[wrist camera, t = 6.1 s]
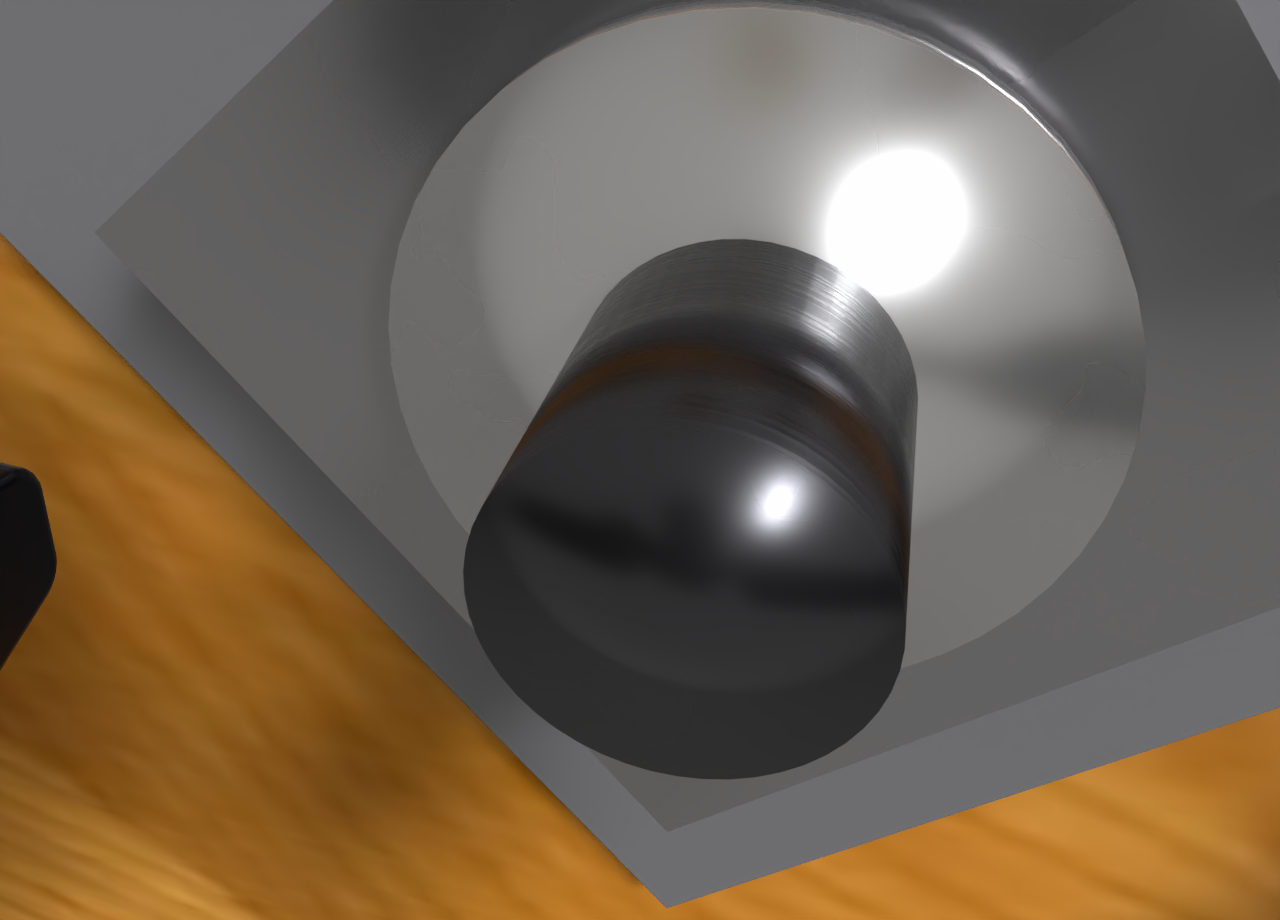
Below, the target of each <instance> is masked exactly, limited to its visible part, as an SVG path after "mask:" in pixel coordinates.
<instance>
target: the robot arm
mask: <svg viewBox="0 0 1280 920" xmlns="http://www.w3.org/2000/svg"><path fill="white" fill-rule="evenodd" d="M56 564H57V558H56V552H55V547H54V542H53V538H52V533H51V529H50V524H49V519H48V515H47V510H46V506H45V501H44V496H43V492H42V488H41V485H40V482H39V481H38V479H37V478H36V477H35V475H34V474H33V473H32V472H30V471H28V470H27V469H24V468H21V467H17V466H13V465H8V464H4V463H0V670H1V669H2V667H3V666H4V664H5V662H6V661H7V659H8V657H9V656H10V654H11V653H12V651H13V649H14V648H15V646H16V645H17V643H18V641H19V640H20V638H21V637H22V635H23V633H24V632H25V630H26V629H27V627H28V625H29V624H30V622H31V620H32V619H33V617H34V616H35V614H36V612H37V611H38V609H39V608H40V606H41V604H42V603H43V601H44V600H45V598H46V596H47V595H48V593H49V591H50V589H51V586H52V584H53V581H54V578H55V573H56Z"/></svg>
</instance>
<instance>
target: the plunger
mask: <svg viewBox="0 0 1280 920" xmlns="http://www.w3.org/2000/svg"><path fill="white" fill-rule="evenodd" d="M388 329H389V341H390V353H391V365H392V372H393V377H394V381H395V386H396V390H397V395H398V399H399V404H400V408H401V412H402V414H403V417H404V420H405V423H406V425H407V428H408V431H409V434H410V437H411V439H412V442H413V445H414V448H415V450H416V452H417V454H418V456H419V458H420V460H421V462H422V464H423V466H424V468H425V470H426V472H427V474H428V476H429V478H430V480H431V482H432V484H433V485H434V487H435V488H436V490H437V491H438V493H439V494H440V496H441V497H442V499H443V500H444V502H445V503H446V505H447V507H448V508H449V510H450V511H451V513H452V514H453V516H454V517H455V519H456V520H457V521H458V522H459V523H460V525H461V526H462V527H463V528H464V529H465V531H466V532H467V533H468V534H469V538H468V542H467V545H466V549H465V558H464V567H463V579H464V594H465V599H466V604H467V609H468V613H469V617H470V619H471V622H472V625H473V628H474V631H475V633H476V636H477V638H478V640H479V642H480V644H481V646H482V648H483V650H484V652H485V654H486V655H487V657H488V659H489V660H490V662H491V663H492V665H493V666H494V668H495V669H496V670H497V672H498V673H499V675H500V676H501V678H502V679H503V680H504V681H505V682H506V683H507V685H508V686H509V687H510V688H511V689H512V690H513V691H514V693H515V694H516V695H517V696H518V697H519V698H520V699H521V700H522V701H523V702H524V703H526V704H527V705H528V706H529V707H530V708H531V709H532V710H533V711H534V712H535V713H536V714H538V715H539V716H540V717H542V718H543V719H544V720H546V721H547V722H548V723H549V724H551V725H552V726H553V727H555V728H556V729H558V730H559V731H561V732H562V733H564V734H566V735H567V736H569V737H570V738H572V739H574V740H575V741H577V742H579V743H581V744H583V745H585V746H587V747H589V748H591V749H593V750H595V751H597V752H599V753H601V754H603V755H605V756H608V757H610V758H613V759H615V760H618V761H621V762H623V763H626V764H629V765H632V766H636V767H639V768H642V769H646V770H649V771H653V772H658V773H663V774H668V775H673V776H678V777H688V778H697V779H726V780H730V779H742V778H754V777H760V776H765V775H770V774H776V773H781V772H784V771H787V770H790V769H793V768H797V767H800V766H803V765H806V764H808V763H810V762H812V761H815V760H817V759H819V758H821V757H824V756H826V755H827V754H829V753H831V752H832V751H834V750H836V749H837V748H839V747H841V746H842V745H844V744H845V743H847V742H848V741H849V740H850V739H852V738H853V737H854V736H855V735H857V734H858V733H859V732H860V731H861V730H863V729H864V728H865V727H866V726H867V724H868V723H869V722H870V721H871V720H872V719H873V718H874V717H875V715H876V714H877V713H878V712H879V711H880V709H881V708H882V706H883V704H884V703H885V701H886V700H887V698H888V697H889V695H890V693H891V692H892V689H893V687H894V684H895V682H896V680H897V677H898V675H899V672H900V669H901V668H904V667H907V666H910V665H913V664H916V663H919V662H922V661H925V660H928V659H931V658H934V657H937V656H940V655H942V654H945V653H947V652H949V651H951V650H953V649H955V648H957V647H959V646H962V645H964V644H966V643H968V642H970V641H972V640H974V639H976V638H979V637H981V636H982V635H984V634H985V633H987V632H989V631H990V630H992V629H993V628H995V627H997V626H998V625H1000V624H1001V623H1003V622H1005V621H1006V620H1008V619H1009V618H1011V617H1013V616H1014V615H1016V614H1017V613H1018V612H1020V611H1021V610H1022V609H1023V608H1024V607H1026V606H1027V605H1028V604H1029V603H1031V602H1032V601H1033V600H1034V599H1035V598H1037V597H1038V596H1039V595H1040V594H1042V593H1043V592H1044V591H1045V590H1046V589H1048V588H1049V587H1050V586H1051V585H1052V584H1053V583H1054V582H1055V581H1056V580H1057V579H1058V578H1059V576H1060V575H1061V574H1062V573H1063V572H1064V571H1065V570H1066V569H1067V568H1068V567H1069V566H1070V565H1071V564H1072V563H1073V561H1074V560H1075V559H1076V558H1077V557H1078V556H1079V555H1080V554H1081V552H1082V551H1083V549H1084V548H1085V547H1086V545H1087V544H1088V542H1089V541H1090V539H1091V538H1092V537H1093V535H1094V534H1095V532H1096V531H1097V529H1098V528H1099V527H1100V525H1101V524H1102V522H1103V521H1104V519H1105V518H1106V516H1107V514H1108V512H1109V510H1110V508H1111V506H1112V504H1113V502H1114V500H1115V498H1116V496H1117V494H1118V492H1119V490H1120V488H1121V486H1122V484H1123V482H1124V480H1125V477H1126V473H1127V470H1128V467H1129V464H1130V461H1131V458H1132V455H1133V452H1134V449H1135V446H1136V442H1137V439H1138V436H1139V430H1140V423H1141V417H1142V411H1143V404H1144V398H1145V391H1146V355H1145V337H1144V331H1143V325H1142V319H1141V313H1140V307H1139V301H1138V295H1137V291H1136V288H1135V284H1134V281H1133V278H1132V274H1131V271H1130V268H1129V265H1128V262H1127V259H1126V256H1125V253H1124V250H1123V247H1122V244H1121V241H1120V238H1119V235H1118V232H1117V229H1116V226H1115V223H1114V221H1113V219H1112V217H1111V215H1110V213H1109V211H1108V209H1107V207H1106V205H1105V203H1104V202H1103V200H1102V198H1101V196H1100V194H1099V192H1098V190H1097V188H1096V186H1095V184H1094V182H1093V180H1092V178H1091V177H1090V175H1089V174H1088V172H1087V171H1086V170H1085V168H1084V167H1083V166H1082V164H1081V163H1080V161H1079V160H1078V159H1077V157H1076V156H1075V155H1074V153H1073V152H1072V150H1071V149H1070V148H1069V146H1068V145H1067V143H1066V142H1065V141H1064V139H1063V138H1062V137H1061V135H1060V134H1059V133H1058V132H1057V131H1056V130H1055V129H1054V128H1053V127H1052V126H1051V125H1050V124H1049V123H1048V122H1047V121H1046V120H1045V119H1044V118H1043V117H1042V116H1041V115H1040V114H1039V113H1038V112H1037V111H1036V109H1035V108H1034V107H1033V106H1032V105H1031V104H1030V103H1029V102H1028V101H1027V100H1026V99H1025V98H1024V97H1023V96H1022V95H1021V94H1019V93H1018V92H1017V91H1015V90H1014V89H1013V88H1011V87H1010V86H1009V85H1007V84H1006V83H1005V82H1003V81H1002V80H1001V79H999V78H998V77H997V76H996V75H994V74H993V73H992V72H990V71H989V70H988V69H986V68H985V67H984V66H982V65H981V64H980V63H978V62H977V61H975V60H974V59H972V58H970V57H968V56H966V55H965V54H963V53H961V52H959V51H957V50H956V49H954V48H952V47H950V46H948V45H947V44H945V43H943V42H941V41H939V40H938V39H936V38H934V37H932V36H930V35H929V34H927V33H924V32H921V31H919V30H916V29H914V28H911V27H908V26H906V25H903V24H901V23H898V22H896V21H893V20H890V19H888V18H885V17H883V16H880V15H877V14H875V13H871V12H867V11H862V10H858V9H854V8H850V7H845V6H841V5H837V4H833V3H828V2H824V1H820V0H690V1H685V2H679V3H674V4H669V5H663V6H658V7H653V8H650V9H647V10H644V11H641V12H638V13H635V14H632V15H629V16H626V17H623V18H620V19H617V20H615V21H612V22H609V23H606V24H603V25H601V26H599V27H597V28H595V29H593V30H591V31H589V32H587V33H585V34H583V35H581V36H579V37H577V38H575V39H573V40H571V41H569V42H567V43H565V44H564V45H562V46H560V47H558V48H556V49H555V50H553V51H552V52H551V53H549V54H548V55H546V56H545V57H544V58H542V59H541V60H539V61H538V62H536V63H535V64H534V65H532V66H531V67H529V68H528V69H527V70H525V71H524V72H522V73H521V74H520V75H518V76H517V77H516V78H515V79H514V80H512V81H511V82H510V83H509V84H508V85H507V86H506V87H504V88H503V89H502V90H501V91H500V92H499V93H498V94H497V95H496V96H495V97H494V98H493V99H492V100H491V101H489V102H488V103H487V104H486V105H485V106H484V107H483V108H482V109H481V110H480V111H479V112H478V113H477V114H476V115H475V116H474V117H473V118H472V119H471V120H470V121H469V122H468V123H467V124H466V125H465V126H464V127H463V128H462V130H461V131H460V132H459V133H458V135H457V136H456V137H455V139H454V140H453V141H452V143H451V144H450V145H449V146H448V148H447V149H446V150H445V152H444V153H443V154H442V156H441V157H440V158H439V160H438V161H437V162H436V164H435V166H434V167H433V169H432V171H431V173H430V175H429V177H428V178H427V180H426V182H425V184H424V186H423V188H422V189H421V191H420V193H419V195H418V197H417V199H416V200H415V202H414V205H413V208H412V210H411V213H410V216H409V219H408V221H407V224H406V227H405V230H404V232H403V235H402V238H401V240H400V243H399V248H398V253H397V258H396V263H395V267H394V272H393V277H392V282H391V291H390V308H389V326H388Z"/></svg>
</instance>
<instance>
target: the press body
mask: <svg viewBox="0 0 1280 920" xmlns="http://www.w3.org/2000/svg"><path fill="white" fill-rule="evenodd" d="M685 1H690V0H333V1H332V2H331V3H330V4H329V5H328V6H327V7H326V8H325V9H324V10H323V11H322V12H321V13H320V14H318V15H317V16H316V17H315V18H314V19H313V20H312V21H311V22H310V23H309V24H308V25H307V26H306V27H305V28H304V29H303V30H302V31H301V32H300V33H299V34H298V35H297V36H296V37H295V38H294V39H293V40H292V41H291V42H290V43H289V44H288V45H287V46H286V47H285V48H284V49H283V50H281V51H280V52H279V53H278V54H277V55H276V56H275V57H274V58H273V59H272V60H271V61H270V62H269V63H268V64H267V65H266V66H265V67H264V68H263V69H262V70H261V71H260V72H259V73H258V74H257V75H256V76H255V77H254V78H253V79H252V80H251V81H250V82H249V83H248V84H247V85H246V86H245V87H243V88H242V89H241V90H240V91H239V92H238V93H237V94H236V95H235V96H234V97H233V98H232V99H231V100H230V101H229V102H228V103H227V104H226V105H225V106H224V107H223V108H222V109H221V110H220V111H219V112H218V113H217V114H216V115H215V116H214V117H213V118H212V119H211V120H210V121H209V122H208V123H206V124H205V125H204V126H203V127H202V128H201V129H200V130H199V131H198V132H197V133H196V134H195V135H194V136H193V137H192V138H191V139H190V140H189V141H188V142H187V143H186V144H185V145H184V146H183V147H182V148H181V149H180V150H179V151H178V152H177V153H176V154H175V155H174V156H173V157H172V158H171V159H170V160H168V161H167V162H166V163H165V164H164V165H163V166H162V167H161V168H160V169H159V170H158V171H157V172H156V173H155V174H154V175H153V176H152V177H151V178H150V179H149V180H148V181H147V182H146V183H145V184H144V185H143V186H142V187H141V188H140V189H139V190H138V191H137V192H136V193H135V194H134V195H133V196H131V197H130V198H129V199H128V200H127V201H126V202H125V203H124V204H123V205H122V206H121V207H120V208H119V209H118V210H117V211H116V212H115V213H114V214H113V215H112V216H111V217H110V218H109V219H108V220H107V221H106V222H105V223H104V224H103V225H102V226H101V227H100V228H99V229H98V230H97V231H96V232H95V234H96V235H97V236H98V237H99V238H100V239H101V240H102V241H103V242H104V243H105V244H106V245H107V246H108V247H109V248H110V249H111V250H112V251H113V252H114V253H115V255H116V256H117V257H118V258H119V259H120V260H121V261H122V262H123V263H124V264H125V265H126V266H127V267H128V268H129V269H130V270H131V271H132V272H133V273H134V274H135V275H136V277H137V278H138V279H139V280H140V281H141V282H142V283H143V284H144V285H145V286H146V287H147V288H148V289H149V290H150V291H151V292H152V293H153V294H154V295H155V296H156V297H157V298H158V300H159V301H160V302H161V303H162V304H163V305H164V306H165V307H166V308H167V309H168V310H169V311H170V312H171V313H172V314H173V315H174V316H175V317H176V318H177V319H178V320H179V322H180V323H181V324H182V325H183V326H184V327H185V328H186V329H187V330H188V331H189V332H190V333H191V334H192V335H193V336H194V337H195V338H196V339H197V340H198V341H199V342H200V343H201V345H202V346H203V347H204V348H205V349H206V350H207V351H208V352H209V353H210V354H211V355H212V356H213V357H214V358H215V359H216V360H217V361H218V362H219V363H220V364H221V365H222V367H223V368H224V369H225V370H226V371H227V372H228V373H229V374H230V375H231V376H232V377H233V378H234V379H235V380H236V381H237V382H238V383H239V384H240V385H241V386H242V387H243V388H244V390H245V391H246V392H247V393H248V394H249V395H250V396H251V397H252V398H253V399H254V400H255V401H256V402H257V403H258V404H259V405H260V406H261V407H262V408H263V409H264V410H265V412H266V413H267V414H268V415H269V416H270V417H271V418H272V419H273V420H274V421H275V422H276V423H277V424H278V425H279V426H280V427H281V428H282V429H283V430H284V431H285V432H286V434H287V435H288V436H289V437H290V438H291V439H292V440H293V441H294V442H295V443H296V444H297V445H298V446H299V447H300V448H301V449H302V450H303V451H304V452H305V453H306V454H307V455H308V457H309V458H310V459H311V460H312V461H313V462H314V463H315V464H316V465H317V466H318V467H319V468H320V469H321V470H322V471H323V472H324V473H325V474H326V475H327V476H328V477H329V479H330V480H331V481H332V482H333V483H334V484H335V485H336V486H337V487H338V488H339V489H340V490H341V491H342V492H343V493H344V494H345V495H346V496H347V497H348V498H349V499H350V500H351V502H352V503H353V504H354V505H355V506H356V507H357V508H358V509H359V510H360V511H361V512H362V513H363V514H364V515H365V516H366V517H367V518H368V519H369V520H370V521H371V522H372V524H373V525H374V526H375V527H376V528H377V529H378V530H379V531H380V532H381V533H382V534H383V535H384V536H385V537H386V538H387V539H388V540H389V541H390V542H391V543H392V544H393V545H394V547H395V548H396V549H397V550H398V551H399V552H400V553H401V554H402V555H403V556H404V557H405V558H406V559H407V560H408V561H409V562H410V563H411V564H412V565H413V566H414V567H415V569H416V570H417V571H418V572H419V573H420V574H421V575H422V576H423V577H424V578H425V579H426V580H427V581H428V582H429V583H430V584H431V585H432V586H433V587H434V588H435V589H436V590H437V592H438V593H439V594H440V595H441V596H442V597H443V598H444V599H445V600H446V601H447V602H448V603H449V604H450V605H451V606H452V607H453V608H454V609H455V610H456V611H457V612H458V614H459V615H460V616H461V617H462V618H463V619H464V620H465V621H466V622H467V623H468V624H469V625H470V626H471V627H472V628H473V625H472V622H471V619H470V617H469V613H468V609H467V604H466V599H465V594H464V579H463V567H464V558H465V549H466V545H467V542H468V538H469V534H468V533H467V532H466V531H465V529H464V528H463V527H462V526H461V525H460V523H459V522H458V521H457V520H456V519H455V517H454V516H453V514H452V513H451V511H450V510H449V508H448V507H447V505H446V503H445V502H444V500H443V499H442V497H441V496H440V494H439V493H438V491H437V490H436V488H435V487H434V485H433V484H432V482H431V480H430V478H429V476H428V474H427V472H426V470H425V468H424V466H423V464H422V462H421V460H420V458H419V456H418V454H417V452H416V450H415V448H414V445H413V442H412V439H411V437H410V434H409V431H408V428H407V425H406V423H405V420H404V417H403V414H402V412H401V408H400V404H399V399H398V395H397V390H396V386H395V381H394V377H393V372H392V365H391V353H390V341H389V329H388V326H389V308H390V291H391V282H392V277H393V272H394V267H395V263H396V258H397V253H398V248H399V243H400V240H401V238H402V235H403V232H404V230H405V227H406V224H407V221H408V219H409V216H410V213H411V210H412V208H413V205H414V202H415V200H416V199H417V197H418V195H419V193H420V191H421V189H422V188H423V186H424V184H425V182H426V180H427V178H428V177H429V175H430V173H431V171H432V169H433V167H434V166H435V164H436V162H437V161H438V160H439V158H440V157H441V156H442V154H443V153H444V152H445V150H446V149H447V148H448V146H449V145H450V144H451V143H452V141H453V140H454V139H455V137H456V136H457V135H458V133H459V132H460V131H461V130H462V128H463V127H464V126H465V125H466V124H467V123H468V122H469V121H470V120H471V119H472V118H473V117H474V116H475V115H476V114H477V113H478V112H479V111H480V110H481V109H482V108H483V107H484V106H485V105H486V104H487V103H488V102H489V101H491V100H492V99H493V98H494V97H495V96H496V95H497V94H498V93H499V92H500V91H501V90H502V89H503V88H504V87H506V86H507V85H508V84H509V83H510V82H511V81H512V80H514V79H515V78H516V77H517V76H518V75H520V74H521V73H522V72H524V71H525V70H527V69H528V68H529V67H531V66H532V65H534V64H535V63H536V62H538V61H539V60H541V59H542V58H544V57H545V56H546V55H548V54H549V53H551V52H552V51H553V50H555V49H556V48H558V47H560V46H562V45H564V44H565V43H567V42H569V41H571V40H573V39H575V38H577V37H579V36H581V35H583V34H585V33H587V32H589V31H591V30H593V29H595V28H597V27H599V26H601V25H603V24H606V23H609V22H612V21H615V20H617V19H620V18H623V17H626V16H629V15H632V14H635V13H638V12H641V11H644V10H647V9H650V8H653V7H658V6H663V5H669V4H674V3H679V2H685ZM820 1H824V2H828V3H833V4H837V5H841V6H845V7H850V8H854V9H858V10H862V11H867V12H871V13H875V14H877V15H880V16H883V17H885V18H888V19H890V20H893V21H896V22H898V23H901V24H903V25H906V26H908V27H911V28H914V29H916V30H919V31H921V32H924V33H927V34H929V35H930V36H932V37H934V38H936V39H938V40H939V41H941V42H943V43H945V44H947V45H948V46H950V47H952V48H954V49H956V50H957V51H959V52H961V53H963V54H965V55H966V56H968V57H970V58H972V59H974V60H975V61H977V62H978V63H980V64H981V65H982V66H984V67H985V68H986V69H988V70H989V71H990V72H992V73H993V74H994V75H996V76H997V77H998V78H999V79H1001V80H1002V81H1003V82H1005V83H1006V84H1007V85H1009V86H1010V87H1011V88H1013V89H1014V90H1015V91H1017V92H1018V93H1019V94H1021V95H1022V96H1023V97H1024V98H1025V99H1026V100H1027V101H1028V102H1029V103H1030V104H1031V105H1032V106H1033V107H1034V108H1035V109H1036V111H1037V112H1038V113H1039V114H1040V115H1041V116H1042V117H1043V118H1044V119H1045V120H1046V121H1047V122H1048V123H1049V124H1050V125H1051V126H1052V127H1053V128H1054V129H1055V130H1056V131H1057V132H1058V133H1059V134H1060V135H1061V137H1062V138H1063V139H1064V141H1065V142H1066V143H1067V145H1068V146H1069V148H1070V149H1071V150H1072V152H1073V153H1074V155H1075V156H1076V157H1077V159H1078V160H1079V161H1080V163H1081V164H1082V166H1083V167H1084V168H1085V170H1086V171H1087V172H1088V174H1089V175H1090V177H1091V178H1092V180H1093V182H1094V184H1095V186H1096V188H1097V190H1098V192H1099V194H1100V196H1101V198H1102V200H1103V202H1104V203H1105V205H1106V207H1107V209H1108V211H1109V213H1110V215H1111V217H1112V219H1113V221H1114V223H1115V226H1116V229H1117V232H1118V235H1119V238H1120V241H1121V244H1122V247H1123V250H1124V253H1125V256H1126V259H1127V262H1128V265H1129V268H1130V271H1131V274H1132V278H1133V281H1134V284H1135V288H1136V291H1137V295H1138V301H1139V307H1140V313H1141V319H1142V325H1143V331H1144V337H1145V355H1146V391H1145V398H1144V404H1143V411H1142V417H1141V423H1140V430H1139V436H1138V439H1137V442H1136V446H1135V449H1134V452H1133V455H1132V458H1131V461H1130V464H1129V467H1128V470H1127V473H1126V477H1125V480H1124V482H1123V484H1122V486H1121V488H1120V490H1119V492H1118V494H1117V496H1116V498H1115V500H1114V502H1113V504H1112V506H1111V508H1110V510H1109V512H1108V514H1107V516H1106V518H1105V519H1104V521H1103V522H1102V524H1101V525H1100V527H1099V528H1098V529H1097V531H1096V532H1095V534H1094V535H1093V537H1092V538H1091V539H1090V541H1089V542H1088V544H1087V545H1086V547H1085V548H1084V549H1083V551H1082V552H1081V554H1080V555H1079V556H1078V557H1077V558H1076V559H1075V560H1074V561H1073V563H1072V564H1071V565H1070V566H1069V567H1068V568H1067V569H1066V570H1065V571H1064V572H1063V573H1062V574H1061V575H1060V576H1059V578H1058V579H1057V580H1056V581H1055V582H1054V583H1053V584H1052V585H1051V586H1050V587H1049V588H1048V589H1046V590H1045V591H1044V592H1043V593H1042V594H1040V595H1039V596H1038V597H1037V598H1035V599H1034V600H1033V601H1032V602H1031V603H1029V604H1028V605H1027V606H1026V607H1024V608H1023V609H1022V610H1021V611H1020V612H1018V613H1017V614H1016V615H1014V616H1013V617H1011V618H1009V619H1008V620H1006V621H1005V622H1003V623H1001V624H1000V625H998V626H997V627H995V628H993V629H992V630H990V631H989V632H987V633H985V634H984V635H982V636H981V637H979V638H976V639H974V640H972V641H970V642H968V643H966V644H964V645H962V646H959V647H957V648H955V649H953V650H951V651H949V652H947V653H945V654H942V655H940V656H937V657H934V658H931V659H928V660H925V661H922V662H919V663H916V664H913V665H910V666H907V667H904V668H901V669H900V672H899V675H898V677H897V680H896V682H895V684H894V687H893V689H892V692H891V693H890V695H889V697H888V698H887V700H886V701H885V703H884V704H883V706H882V708H881V709H880V711H879V712H878V713H877V714H876V715H875V717H874V718H873V719H872V720H871V721H870V722H869V723H868V724H867V726H866V727H865V728H864V729H863V730H861V731H860V732H859V733H858V734H857V735H855V736H854V737H853V738H852V739H850V740H849V741H848V742H847V743H845V744H844V745H842V746H841V747H839V748H837V749H836V750H834V751H832V752H831V753H829V754H827V755H826V756H824V757H821V758H819V759H817V760H815V761H812V762H810V763H808V764H806V765H803V766H800V767H797V768H793V769H790V770H787V771H784V772H781V773H776V774H770V775H765V776H760V777H754V778H742V779H730V780H726V779H697V778H688V777H678V776H673V775H668V774H663V773H658V772H653V771H649V770H646V769H642V768H639V767H636V766H632V765H629V764H626V763H623V762H621V761H618V760H615V759H613V758H610V757H608V756H605V755H603V754H601V753H599V752H597V751H595V750H593V749H591V748H589V747H587V746H586V747H587V749H588V750H589V751H590V752H591V753H592V754H593V755H594V756H595V757H596V758H597V759H598V760H599V761H600V762H601V763H602V764H603V765H604V766H605V767H606V768H607V769H608V770H609V772H610V773H611V774H612V775H613V776H614V777H615V778H616V779H617V780H618V781H619V782H620V783H621V784H622V785H623V786H624V787H625V788H626V789H627V790H628V791H629V792H630V794H631V795H632V796H633V797H634V798H635V799H636V800H637V801H638V802H639V803H640V804H641V805H642V806H643V807H644V808H645V809H646V810H647V811H648V812H649V813H650V814H651V815H652V817H653V818H654V819H655V820H656V821H657V822H658V823H659V824H660V825H661V826H662V827H663V828H664V829H665V830H666V831H667V832H669V831H671V830H674V829H677V828H679V827H682V826H685V825H688V824H690V823H693V822H696V821H699V820H701V819H704V818H707V817H709V816H712V815H715V814H718V813H720V812H723V811H726V810H729V809H731V808H734V807H737V806H739V805H742V804H745V803H748V802H750V801H753V800H756V799H758V798H761V797H764V796H767V795H769V794H772V793H775V792H778V791H780V790H783V789H786V788H788V787H791V786H794V785H797V784H799V783H802V782H805V781H808V780H810V779H813V778H816V777H818V776H821V775H824V774H827V773H829V772H832V771H835V770H837V769H840V768H843V767H846V766H848V765H851V764H854V763H857V762H859V761H862V760H865V759H867V758H870V757H873V756H876V755H878V754H881V753H884V752H886V751H889V750H892V749H895V748H897V747H900V746H903V745H906V744H908V743H911V742H914V741H916V740H919V739H922V738H925V737H927V736H930V735H933V734H936V733H938V732H941V731H944V730H946V729H949V728H952V727H955V726H957V725H960V724H963V723H965V722H968V721H971V720H974V719H976V718H979V717H982V716H985V715H987V714H990V713H993V712H995V711H998V710H1001V709H1004V708H1006V707H1009V706H1012V705H1015V704H1017V703H1020V702H1023V701H1025V700H1028V699H1031V698H1034V697H1036V696H1039V695H1042V694H1044V693H1047V692H1050V691H1053V690H1055V689H1058V688H1061V687H1064V686H1066V685H1069V684H1072V683H1074V682H1077V681H1080V680H1083V679H1085V678H1088V677H1091V676H1093V675H1096V674H1099V673H1102V672H1104V671H1107V670H1110V669H1113V668H1115V667H1118V666H1121V665H1123V664H1126V663H1129V662H1132V661H1134V660H1137V659H1140V658H1143V657H1145V656H1148V655H1151V654H1153V653H1156V652H1159V651H1162V650H1164V649H1167V648H1170V647H1172V646H1175V645H1178V644H1181V643H1183V642H1186V641H1189V640H1192V639H1194V638H1197V637H1200V636H1202V635H1205V634H1208V633H1211V632H1213V631H1216V630H1219V629H1222V628H1224V627H1227V626H1230V625H1232V624H1235V623H1238V622H1241V621H1243V620H1246V619H1249V618H1251V617H1254V616H1257V615H1260V614H1262V613H1265V612H1268V611H1271V610H1273V609H1276V608H1279V607H1280V81H1279V79H1278V77H1277V75H1276V73H1275V71H1274V70H1273V68H1272V66H1271V64H1270V62H1269V60H1268V58H1267V57H1266V55H1265V53H1264V51H1263V49H1262V47H1261V45H1260V44H1259V42H1258V40H1257V38H1256V36H1255V34H1254V32H1253V31H1252V29H1251V27H1250V25H1249V23H1248V21H1247V19H1246V18H1245V16H1244V14H1243V12H1242V10H1241V8H1240V6H1239V5H1238V3H1237V1H1236V0H820ZM473 629H474V628H473Z"/></svg>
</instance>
